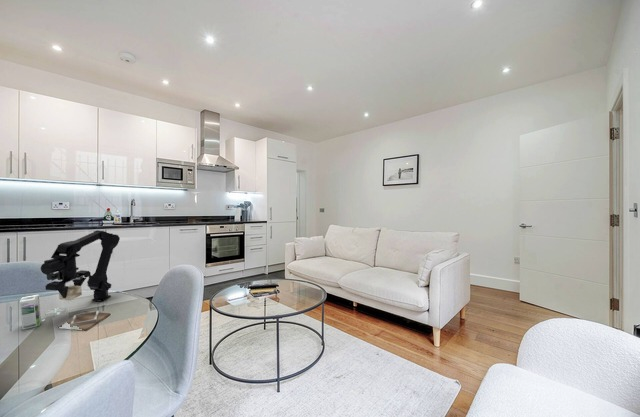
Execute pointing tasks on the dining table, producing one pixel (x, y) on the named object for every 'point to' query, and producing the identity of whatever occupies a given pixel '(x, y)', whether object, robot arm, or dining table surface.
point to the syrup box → (30, 311)
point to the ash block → (72, 292)
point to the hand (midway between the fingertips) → (70, 295)
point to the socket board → (87, 319)
